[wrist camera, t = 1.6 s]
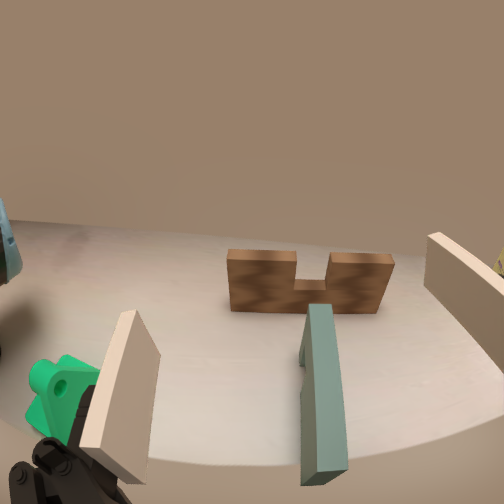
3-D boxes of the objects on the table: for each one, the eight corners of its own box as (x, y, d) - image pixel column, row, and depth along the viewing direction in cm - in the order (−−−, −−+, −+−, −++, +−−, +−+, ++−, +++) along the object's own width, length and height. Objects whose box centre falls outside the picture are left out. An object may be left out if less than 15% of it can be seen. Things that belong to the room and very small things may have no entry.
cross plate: (300, 486, 25) (317, 471, 18) (299, 353, 39) (308, 303, 32) (323, 484, 25) (348, 469, 18) (317, 353, 39) (331, 303, 32)
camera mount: (72, 362, 36) (38, 316, 30) (111, 381, 35) (79, 336, 28) (33, 425, 27) (-13, 389, 21) (72, 453, 26) (24, 422, 19)
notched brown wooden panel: (231, 311, 45) (226, 259, 38) (232, 301, 46) (228, 249, 40) (376, 313, 44) (395, 263, 37) (373, 303, 45) (391, 254, 39)
